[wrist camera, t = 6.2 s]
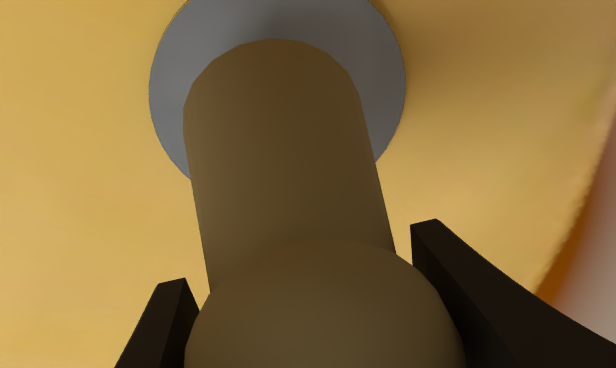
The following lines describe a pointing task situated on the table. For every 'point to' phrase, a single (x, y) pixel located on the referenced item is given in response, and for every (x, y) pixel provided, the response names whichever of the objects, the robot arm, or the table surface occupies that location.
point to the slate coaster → (279, 25)
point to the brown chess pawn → (299, 224)
